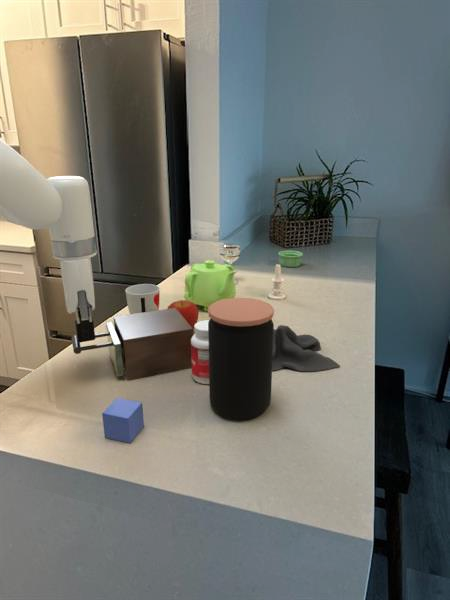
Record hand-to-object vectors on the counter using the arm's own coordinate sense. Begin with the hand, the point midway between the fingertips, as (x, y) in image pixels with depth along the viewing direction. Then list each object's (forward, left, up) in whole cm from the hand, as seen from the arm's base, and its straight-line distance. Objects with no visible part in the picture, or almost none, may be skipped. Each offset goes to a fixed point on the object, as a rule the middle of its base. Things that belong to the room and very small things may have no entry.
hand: (86, 339), depth 84 cm
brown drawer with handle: (+7, 0, -6) cm, 10 cm away
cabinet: (+13, 0, -7) cm, 15 cm away
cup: (+15, +18, -7) cm, 24 cm away
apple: (+23, +12, -7) cm, 27 cm away
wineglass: (+49, +44, -7) cm, 66 cm away
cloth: (+40, -8, -7) cm, 42 cm away
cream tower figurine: (+56, +25, -7) cm, 62 cm away
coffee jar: (+23, -22, -7) cm, 33 cm away
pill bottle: (+21, -11, -7) cm, 25 cm away
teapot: (+36, +26, -7) cm, 45 cm away
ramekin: (+78, +55, -7) cm, 96 cm away
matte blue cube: (+3, -22, -7) cm, 23 cm away
